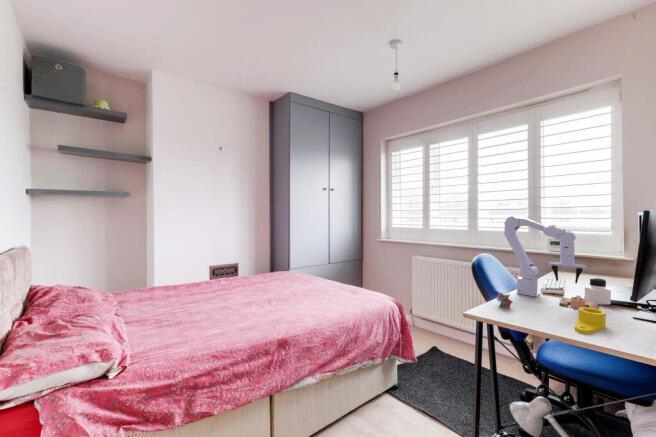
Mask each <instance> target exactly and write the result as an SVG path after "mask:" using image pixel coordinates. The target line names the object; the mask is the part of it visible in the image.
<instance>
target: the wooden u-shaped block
mask: <svg viewBox="0 0 656 437" xmlns="http://www.w3.org/2000/svg"><path fill="white" fill-rule="evenodd" d="M568 305H570V306H571V298H567V297H564V296H563V297H560V300H559V306H561V307H568ZM598 305H599V304H597V303H596V302H589V301H586V300H585V307H588V308H594V309H599V306H598Z"/></svg>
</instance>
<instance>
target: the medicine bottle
mask: <svg viewBox="0 0 656 437" xmlns="http://www.w3.org/2000/svg"><path fill="white" fill-rule="evenodd" d="M611 298H612V291H611V289H608V288H607V281H606V280H605V279H603V278H600V277H591V278H590V279H589V286H585V287H584V299H585V301H589V302H596V303H597V304H598V305H611V303H612V302H611V300H612V299H611Z"/></svg>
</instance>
